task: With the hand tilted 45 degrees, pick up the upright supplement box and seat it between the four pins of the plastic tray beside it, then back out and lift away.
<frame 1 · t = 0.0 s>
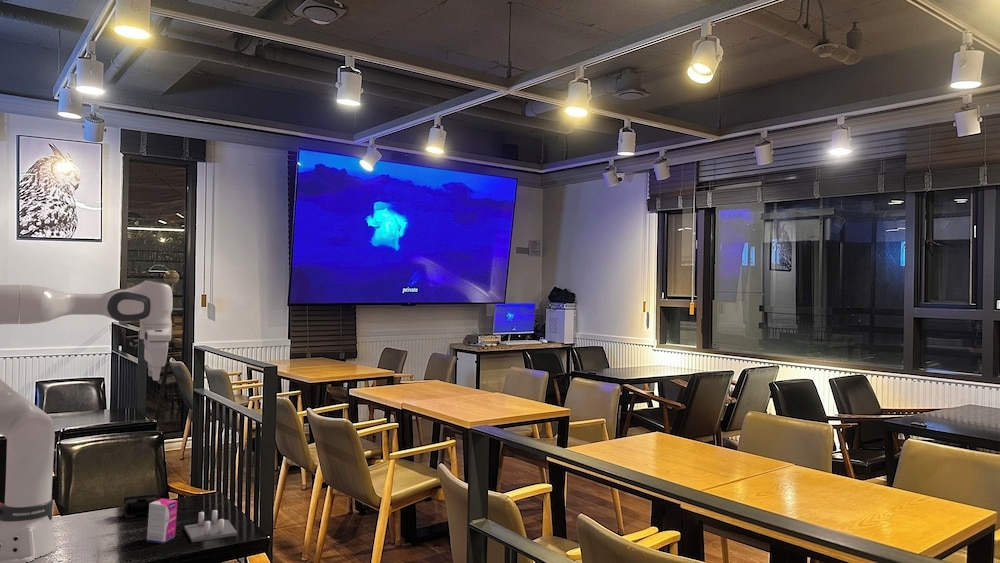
hand: (153, 378, 217), 48 cm above the table, tool pointing down, fingers open, 8 cm apart
pin tray: (210, 532, 221), on the table
end cap: (140, 517, 233), on the table
supplement box: (161, 540, 213), on the table
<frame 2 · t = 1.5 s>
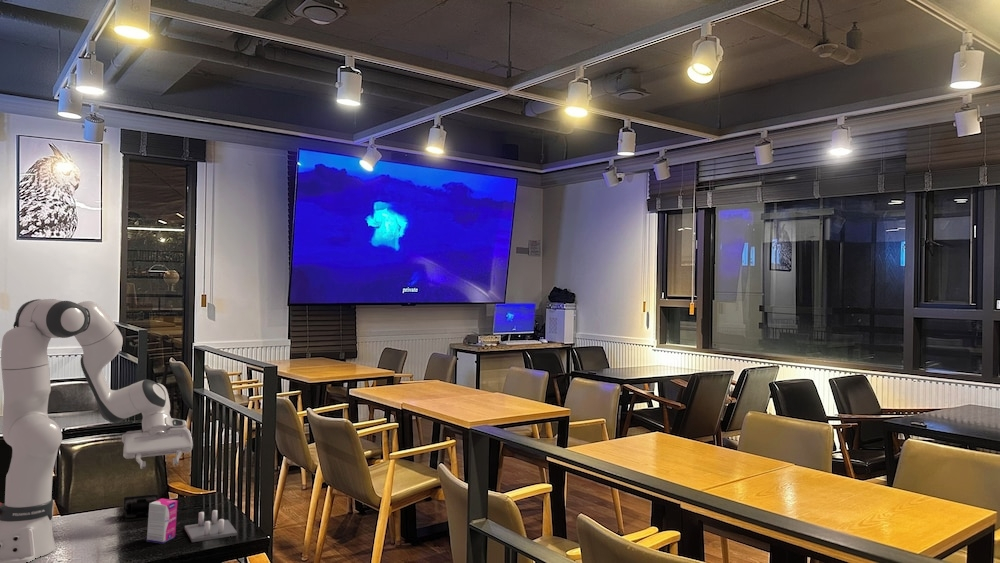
hand: (159, 465, 224), 19 cm above the table, tool tilted 45°, fingers open, 8 cm apart
nothing on the table moved.
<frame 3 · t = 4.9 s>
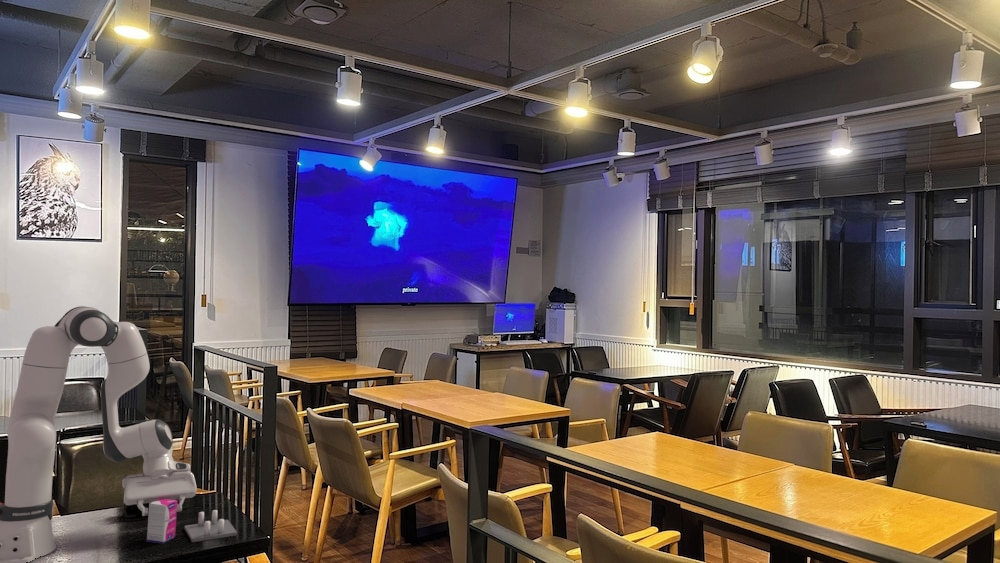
hand: (162, 512, 214), 8 cm above the table, tool tilted 45°, fingers closed on supplement box, 8 cm apart
supplement box: (161, 540, 213), on the table, touching gripper
everything else where it was.
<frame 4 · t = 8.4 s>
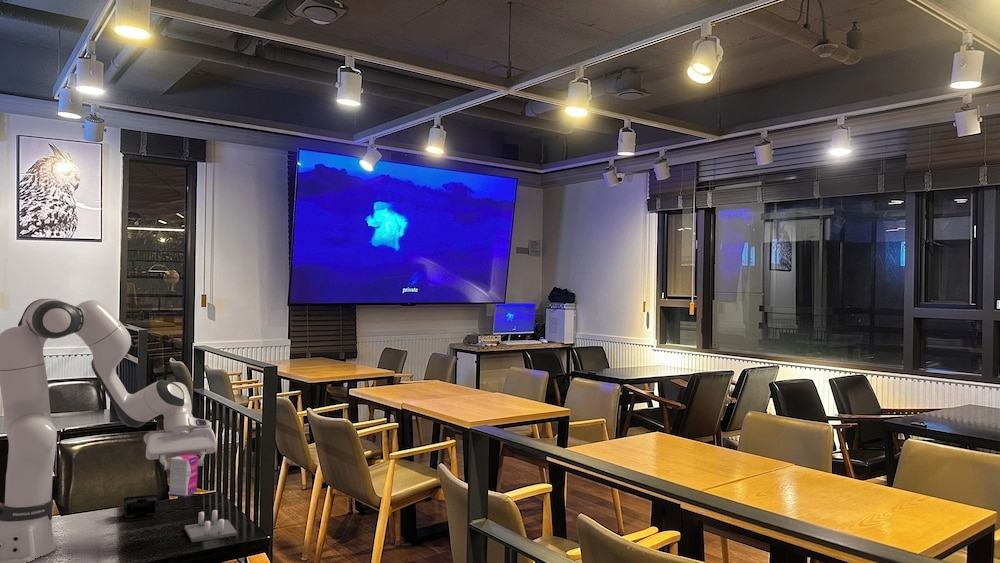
hand: (184, 467, 217), 21 cm above the table, tool tilted 45°, fingers closed on supplement box, 8 cm apart
supplement box: (183, 494, 217), point 13 cm above the table, touching gripper
everything else where it was.
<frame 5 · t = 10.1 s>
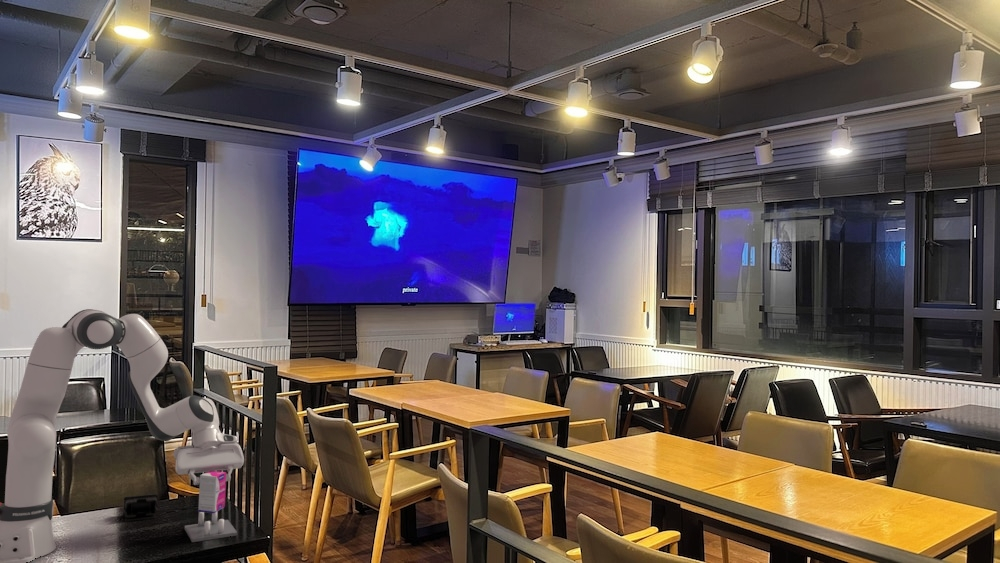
hand: (212, 482, 221), 16 cm above the table, tool tilted 45°, fingers closed on supplement box, 8 cm apart
supplement box: (211, 510, 221), point 7 cm above the table, touching gripper
everything else where it was.
when the fingers open (10 cm above the table, at t = 11.7 s): supplement box stays where it is, resting on pin tray.
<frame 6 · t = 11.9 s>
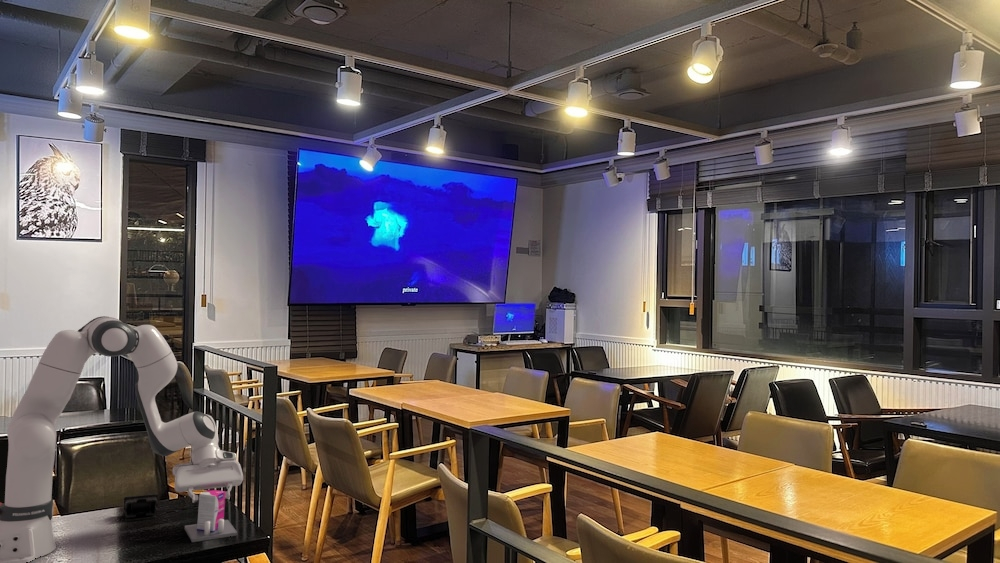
hand: (211, 499, 221), 10 cm above the table, tool tilted 45°, fingers open, 8 cm apart
supplement box: (210, 529, 221), point 1 cm above the table, touching pin tray
everything else where it was.
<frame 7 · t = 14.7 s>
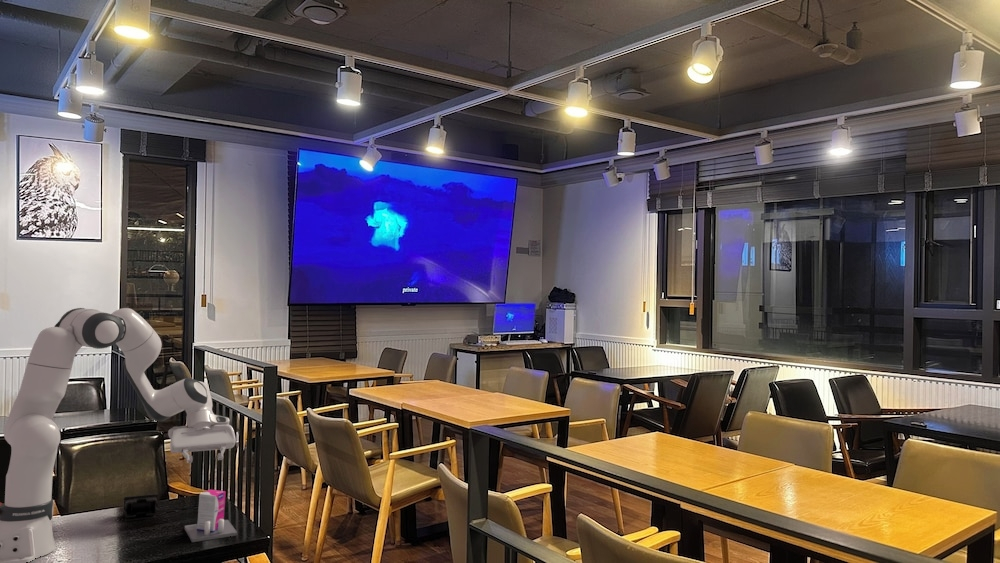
hand: (205, 460, 232), 19 cm above the table, tool tilted 45°, fingers open, 8 cm apart
nothing on the table moved.
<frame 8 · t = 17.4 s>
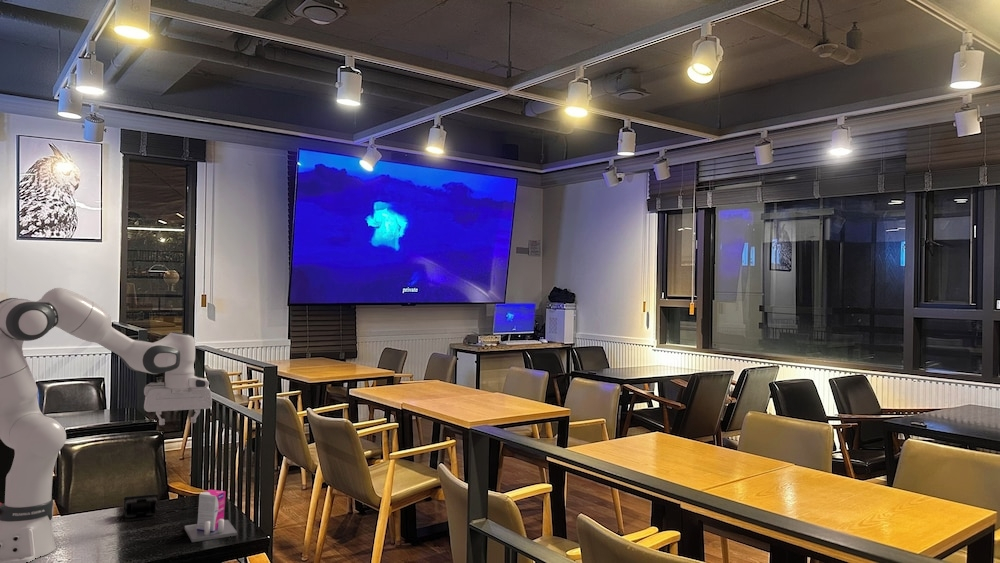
hand: (177, 423, 232), 31 cm above the table, tool pointing down, fingers open, 8 cm apart
nothing on the table moved.
at the end: supplement box 0.0 cm off-centre on the pin tray, point 0.8 cm above the pin tray's base; supplement box tilted 0°; the gripper is holding nothing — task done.
